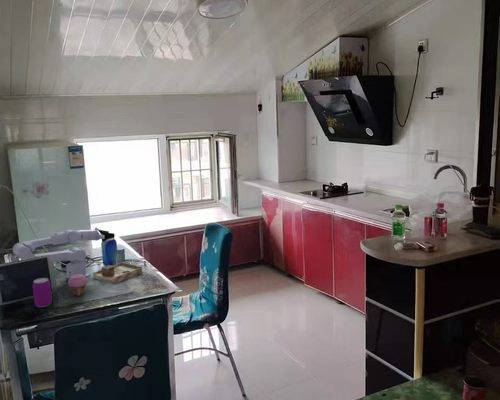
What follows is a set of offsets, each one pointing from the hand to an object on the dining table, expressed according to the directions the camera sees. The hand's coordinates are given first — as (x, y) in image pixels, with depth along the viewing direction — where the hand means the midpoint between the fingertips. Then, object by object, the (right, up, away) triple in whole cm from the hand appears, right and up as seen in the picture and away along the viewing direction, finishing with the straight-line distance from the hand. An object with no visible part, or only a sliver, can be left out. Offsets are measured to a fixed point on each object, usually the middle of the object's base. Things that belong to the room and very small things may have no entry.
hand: (111, 234), depth 279 cm
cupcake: (-6, -27, -34) cm, 44 cm away
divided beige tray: (+6, -22, -9) cm, 24 cm away
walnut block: (+2, -21, -14) cm, 25 cm away
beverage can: (-19, -30, -46) cm, 58 cm away
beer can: (-2, -19, +8) cm, 20 cm away
